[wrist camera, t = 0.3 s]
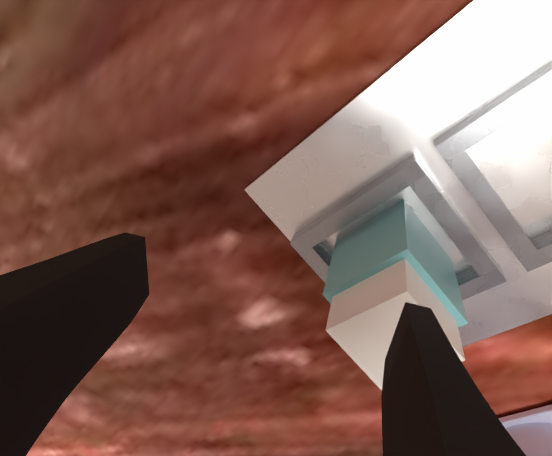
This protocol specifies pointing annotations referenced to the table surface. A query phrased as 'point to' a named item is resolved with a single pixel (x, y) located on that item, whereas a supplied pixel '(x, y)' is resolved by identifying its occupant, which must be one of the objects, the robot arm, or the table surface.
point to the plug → (389, 286)
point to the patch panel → (443, 161)
